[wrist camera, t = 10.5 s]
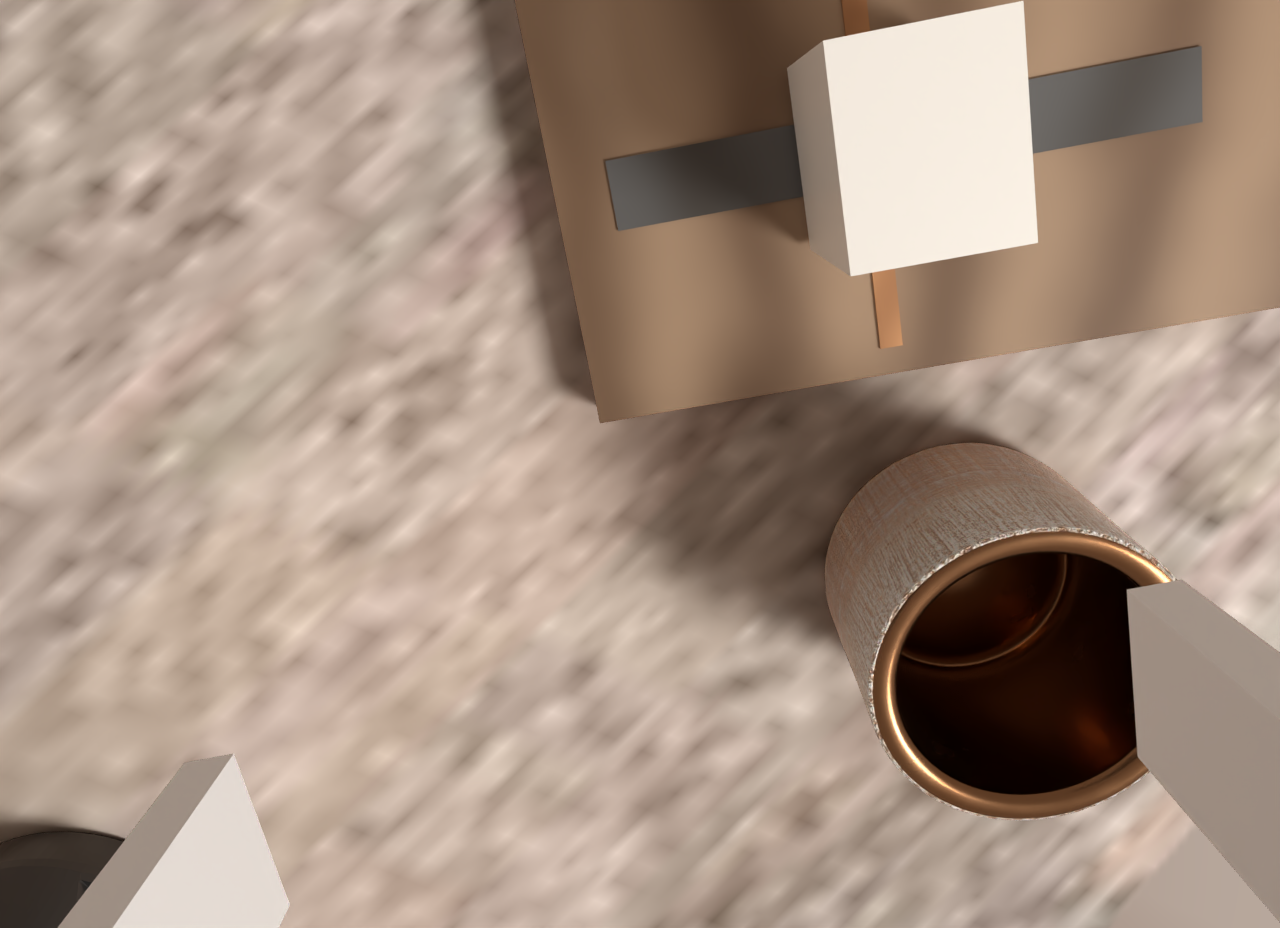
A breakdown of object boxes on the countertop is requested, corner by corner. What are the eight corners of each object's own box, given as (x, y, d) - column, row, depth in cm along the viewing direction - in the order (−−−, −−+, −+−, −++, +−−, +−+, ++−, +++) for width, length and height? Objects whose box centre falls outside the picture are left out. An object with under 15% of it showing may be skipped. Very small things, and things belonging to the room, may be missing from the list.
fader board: (603, 408, 39) (600, 423, 36) (516, -29, 34) (505, -42, 32) (1282, 292, 36) (1321, 301, 34) (1288, -192, 32) (1334, -218, 30)
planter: (809, 672, 42) (847, 816, 33) (835, 430, 39) (886, 515, 30) (1061, 686, 42) (1171, 834, 33) (1109, 443, 39) (1246, 533, 29)
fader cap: (810, 249, 34) (850, 276, 26) (786, 68, 32) (823, 40, 25) (954, 223, 34) (1038, 243, 26) (938, 37, 32) (1023, 0, 24)
